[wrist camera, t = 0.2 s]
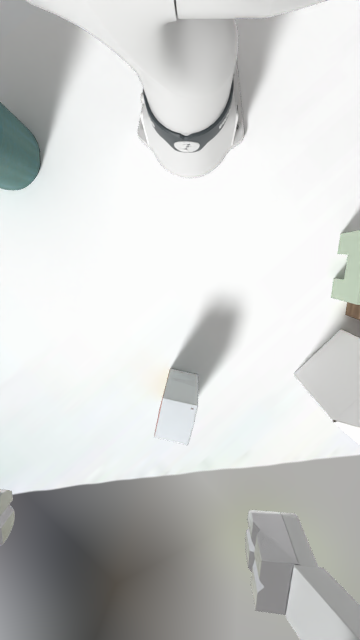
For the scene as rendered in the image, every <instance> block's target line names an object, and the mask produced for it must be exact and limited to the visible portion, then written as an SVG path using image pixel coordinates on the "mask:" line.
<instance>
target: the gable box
mask: <svg viewBox="0 0 360 640" xmlns="http://www.w3.org/2000/svg"><path fill="white" fill-rule="evenodd" d="M294 377H295V378H296V379H297V380H298V381H299V382H300V384H301V385H302V386H303V387H304V388H305V390H306V391H307V392H308V393H309V394H310V395H311V397H312V398H313V399H314V400H315V401H316V403H317V404H318V405H319V406H320V407H321V408H322V410H323V411H324V412H325V413H326V414H327V416H328V417H329V418H330V419H331V420H332V421H333V423H335V424H336V425H337V426H338V427H339V428H340V429H342V430H343V431H344V432H345V433H346V434H347V435H349V436H350V437H351V438H352V439H353V440H354V441H356V442H357V443H358V444H359V445H360V338H359V337H357V336H355V335H353V334H351V333H349V332H346V331H344V330H342V329H340V330H339V331H338V332H337V333H336V334H335V335H334V336H333V337H332V338H331V339H330V340H329V341H328V342H327V343H326V344H325V345H324V346H322V347H321V348H320V349H319V350H318V351H317V352H316V353H315V354H314V355H313V356H312V357H311V358H310V359H309V360H308V361H307V362H306V363H305V364H304V365H303V366H302V367H300V368H299V369H298V370H297V371H296V372H295V373H294Z"/></svg>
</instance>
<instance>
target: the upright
mask: <svg viewBox="0 0 360 640" xmlns="http://www.w3.org/2000/svg"><path fill="white" fill-rule="evenodd" d="M345 315H347V316H350V317H353V318H356V319H359V320H360V305H356V304H353V303H349V302H347V308H346V314H345Z"/></svg>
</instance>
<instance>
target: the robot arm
mask: <svg viewBox="0 0 360 640" xmlns="http://www.w3.org/2000/svg"><path fill="white" fill-rule="evenodd" d="M26 1H27V2H29V3H30V4H32V5H34V6H36V7H39V8H41V9H43V10H46V11H48V12H51V13H53V14H55V15H57V16H59V17H61V18H63V19H65V20H67V21H69V22H71V23H73V24H75V25H77V26H78V27H80V28H82V29H83V30H85V31H86V32H88V33H89V34H91V35H92V36H94V37H95V38H97V39H98V40H99V41H101V42H102V43H103V44H105V45H106V46H107V47H108V48H110V49H111V50H112V51H113V52H114V53H116V54H117V55H118V56H119V57H120V58H121V59H122V60H124V61H125V62H126V63H127V64H128V65H129V66H130V67H131V68H132V69H133V70H134V71H135V72H136V74H137V75H138V77H139V79H140V82H141V84H142V86H143V93H141V103H142V110H141V115H140V121H139V127H138V137H139V139H140V141H141V142H142V143H144V144H145V145H146V146H147V147H149V148H150V149H151V150H152V151H153V153H154V155H155V157H156V158H157V160H158V161H159V163H160V164H161V165H162V166H163V167H164V168H165V169H166V170H167V171H168V172H170V173H172V174H173V175H176V176H178V177H182V178H197V177H201V176H204V175H206V174H208V173H209V172H211V171H212V170H214V169H215V168H216V167H217V166H218V165H219V164H220V163H221V161H222V160H223V159H224V157H225V156H226V154H227V153H228V152H229V151H230V150H231V149H232V148H234V147H235V146H237V145H238V144H239V143H240V142H241V141H242V140H243V138H244V126H243V116H242V106H241V96H240V86H239V76H238V66H237V54H238V29H237V24H236V20H235V19H260V18H269V17H273V16H277V15H281V14H284V13H288V12H292V11H296V10H299V9H303V8H306V7H309V6H312V5H315V4H318V3H321V2H325V1H328V0H26ZM237 126H238V129H237V130H236V127H237ZM12 500H13V496H12V491H9V490H3V489H0V546H1V545H2V544H4V542H5V541H6V539H7V537H8V536H9V534H10V532H11V529H12V527H13V524H14V518H15V513H14V510H13V508H12V507H11V506H10V505H9V504H10V502H11V501H12ZM247 520H248V525H249V529H248V530H246V539H245V540H246V557H247V564H248V568H249V569H250V571H251V572H252V577H251V588H252V594H253V599H254V605H255V611H261V612H268V613H276V614H283V615H286V619H287V620H288V621H289V623H290V625H291V626H292V628H293V629H294V631H295V633H296V634H297V636H298V637H299V639H300V640H360V605H359V603H358V602H357V601H356V600H355V599H354V598H353V597H352V596H351V595H350V594H349V593H348V592H347V591H346V590H345V589H344V588H343V587H342V586H341V585H340V584H339V583H338V582H337V581H336V580H335V579H334V578H333V577H332V576H331V575H330V574H329V573H328V572H327V571H326V570H325V569H324V568H323V567H318V565H317V562H316V560H315V558H314V555H313V552H312V550H311V547H310V545H309V542H308V540H307V537H306V535H305V533H304V530H303V528H302V525H301V523H300V520H299V518H298V516H297V515H296V514H295V513H279V512H268V511H255V510H249V513H248V519H247Z"/></svg>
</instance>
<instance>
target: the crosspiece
mask: <svg viewBox="0 0 360 640" xmlns="http://www.w3.org/2000/svg"><path fill="white" fill-rule="evenodd" d="M338 254H348V257H347V263H346V269H345V276H344V279H334V281H333V287H332V294H331V298H334V299H338V300H341V301H345V302H349V303H353V304H356V305H360V230H357V231H352V232H347V233H342V234H341V235H340V241H339V248H338Z"/></svg>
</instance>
